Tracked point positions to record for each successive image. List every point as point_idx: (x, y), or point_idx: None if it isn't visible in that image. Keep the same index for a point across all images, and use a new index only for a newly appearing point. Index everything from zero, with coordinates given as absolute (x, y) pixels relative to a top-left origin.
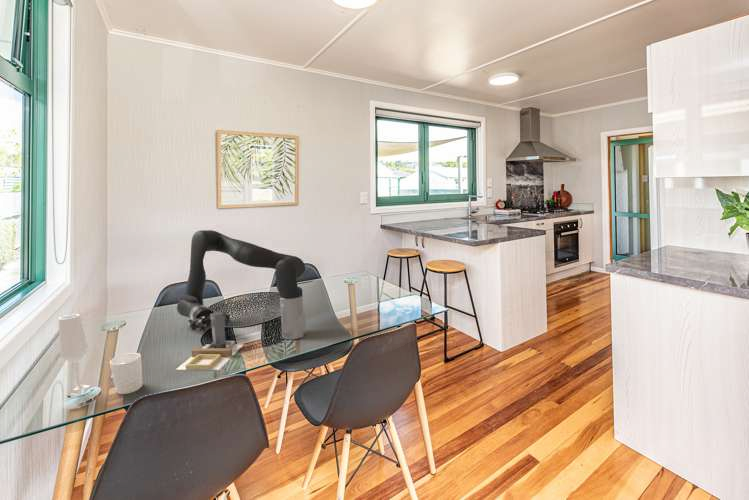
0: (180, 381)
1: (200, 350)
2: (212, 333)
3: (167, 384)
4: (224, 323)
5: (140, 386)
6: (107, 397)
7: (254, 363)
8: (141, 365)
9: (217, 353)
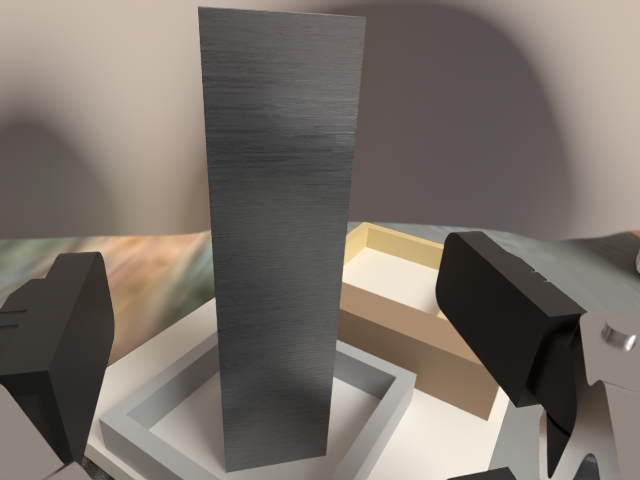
0: None
1: (433, 316)
2: (336, 304)
3: (523, 251)
4: (98, 359)
5: (637, 262)
6: None
7: (161, 237)
8: None
9: None
